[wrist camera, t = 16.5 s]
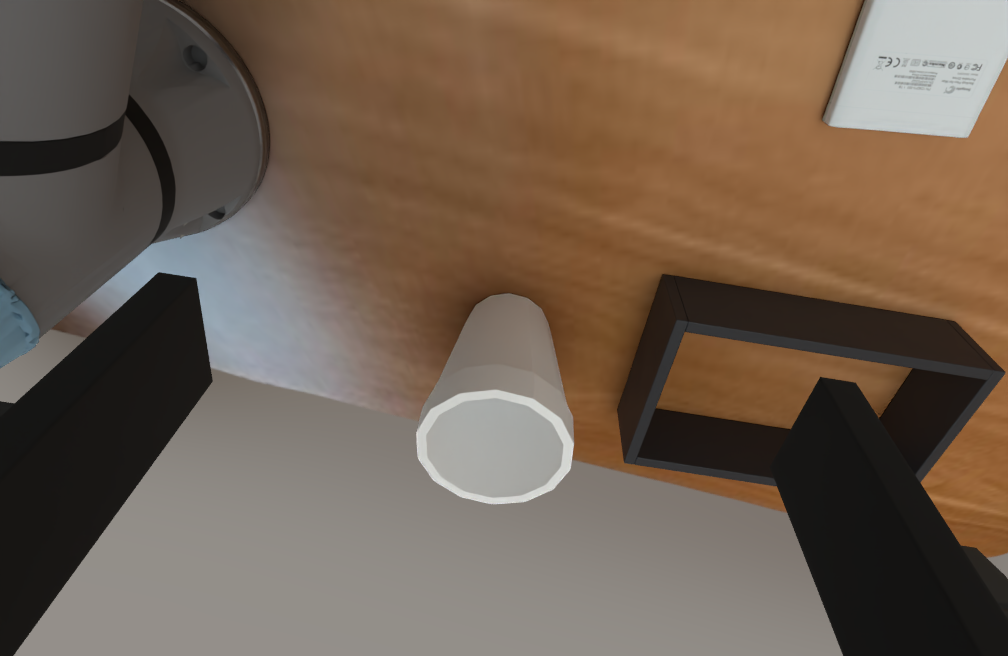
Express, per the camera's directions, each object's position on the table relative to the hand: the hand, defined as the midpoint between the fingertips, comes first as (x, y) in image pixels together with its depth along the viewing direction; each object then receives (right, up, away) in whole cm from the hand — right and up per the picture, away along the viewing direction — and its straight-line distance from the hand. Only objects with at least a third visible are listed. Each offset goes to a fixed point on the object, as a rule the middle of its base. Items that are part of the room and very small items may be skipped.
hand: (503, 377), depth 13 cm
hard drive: (+24, +19, +21) cm, 36 cm away
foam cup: (0, +1, +34) cm, 34 cm away
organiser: (+21, -2, +34) cm, 40 cm away
